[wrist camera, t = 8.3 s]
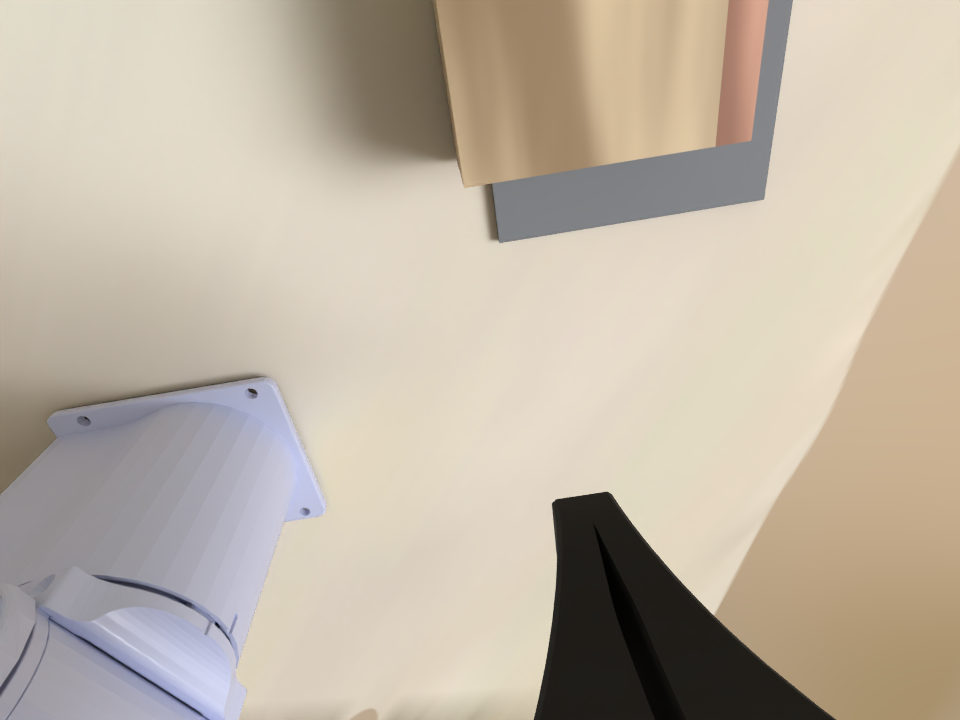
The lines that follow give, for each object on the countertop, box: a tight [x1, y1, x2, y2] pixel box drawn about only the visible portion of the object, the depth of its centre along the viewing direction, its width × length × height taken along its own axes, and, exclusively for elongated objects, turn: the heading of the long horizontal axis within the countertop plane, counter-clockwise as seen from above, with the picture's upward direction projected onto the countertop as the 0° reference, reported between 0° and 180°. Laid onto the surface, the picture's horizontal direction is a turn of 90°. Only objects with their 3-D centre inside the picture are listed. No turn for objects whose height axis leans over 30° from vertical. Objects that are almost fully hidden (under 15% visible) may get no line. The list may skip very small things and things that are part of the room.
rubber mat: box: [492, 0, 793, 243], centre depth 16 cm, size 10×12×1 cm
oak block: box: [432, 0, 769, 188], centre depth 14 cm, size 4×6×8 cm
